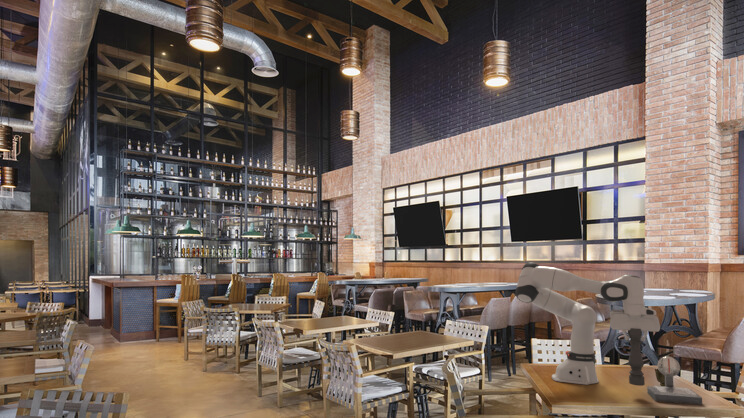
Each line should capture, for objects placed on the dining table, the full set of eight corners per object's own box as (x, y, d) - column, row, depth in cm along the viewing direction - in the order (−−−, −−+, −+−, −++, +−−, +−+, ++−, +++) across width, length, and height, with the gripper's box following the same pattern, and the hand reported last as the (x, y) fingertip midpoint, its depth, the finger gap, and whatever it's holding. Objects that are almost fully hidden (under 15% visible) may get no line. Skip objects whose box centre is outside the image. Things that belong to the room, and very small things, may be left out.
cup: (675, 388, 235) (674, 371, 235) (659, 387, 236) (658, 371, 237) (669, 384, 242) (668, 368, 243) (653, 384, 243) (652, 367, 244)
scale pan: (660, 394, 213) (660, 391, 214) (653, 388, 224) (653, 385, 224) (696, 397, 209) (696, 394, 209) (688, 390, 220) (688, 388, 220)
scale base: (655, 401, 214) (653, 360, 216) (647, 392, 227) (645, 354, 229) (702, 404, 208) (699, 363, 210) (691, 396, 222) (689, 357, 224)
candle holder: (644, 386, 216) (642, 329, 218) (628, 384, 219) (626, 328, 221) (644, 383, 221) (642, 327, 223) (629, 381, 224) (627, 326, 227)
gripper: (610, 309, 223) (611, 340, 222) (660, 311, 217) (661, 343, 216) (608, 308, 229) (609, 338, 228) (656, 310, 223) (657, 340, 222)
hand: (635, 340), depth 222 cm, fingers closed on candle holder, 5 cm apart
